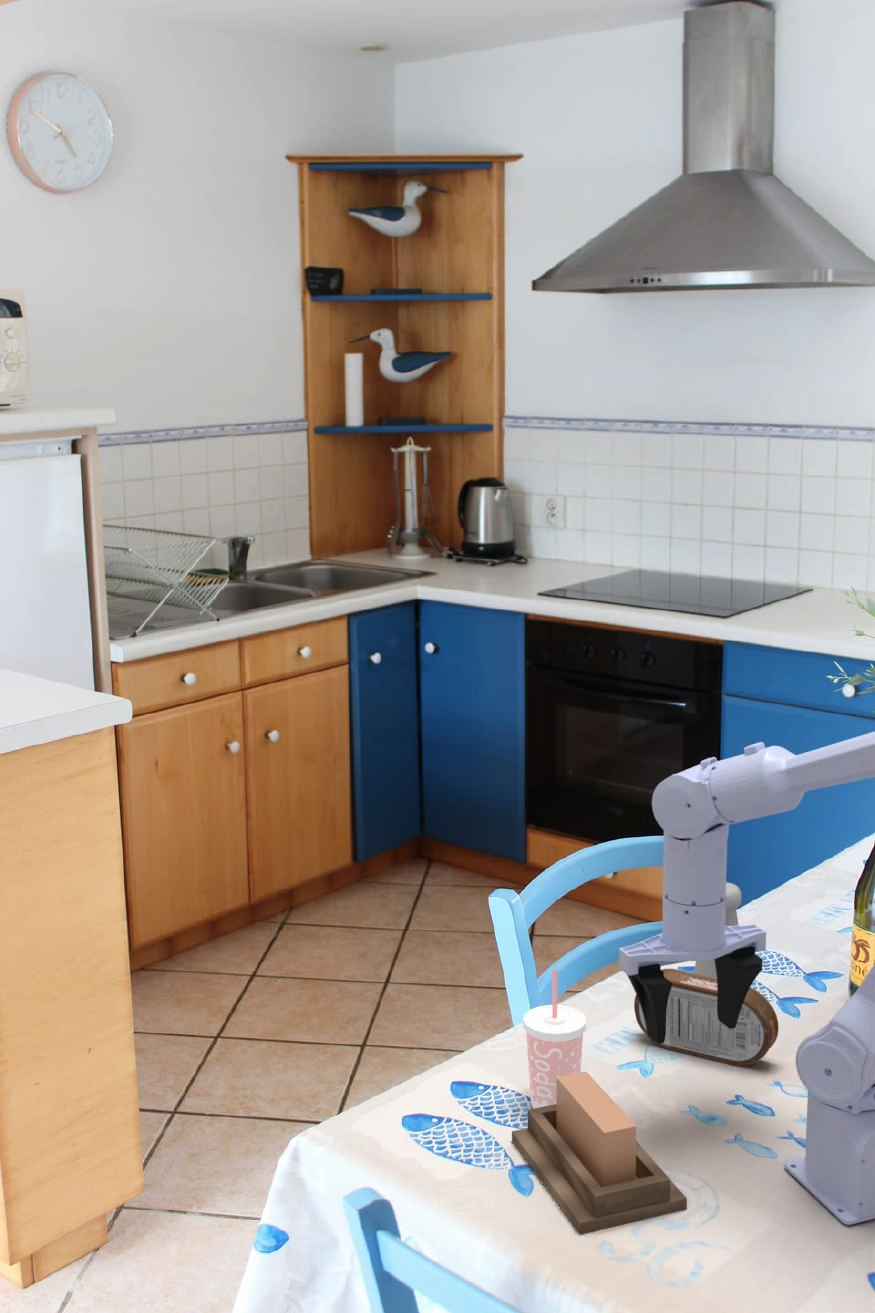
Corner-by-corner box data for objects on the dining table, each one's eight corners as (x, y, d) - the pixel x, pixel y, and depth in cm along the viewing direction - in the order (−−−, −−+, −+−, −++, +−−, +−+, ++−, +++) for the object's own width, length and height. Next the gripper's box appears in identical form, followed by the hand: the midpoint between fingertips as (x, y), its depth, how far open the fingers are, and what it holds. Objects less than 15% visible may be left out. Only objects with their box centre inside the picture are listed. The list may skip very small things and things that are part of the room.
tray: (686, 1209, 116) (687, 1177, 116) (579, 1234, 113) (579, 1201, 113) (609, 1120, 130) (609, 1092, 130) (512, 1141, 127) (511, 1111, 127)
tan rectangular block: (635, 1189, 118) (636, 1126, 116) (603, 1196, 117) (604, 1133, 115) (586, 1130, 127) (586, 1071, 126) (556, 1137, 126) (556, 1077, 125)
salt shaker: (683, 987, 158) (685, 881, 156) (724, 977, 161) (726, 873, 158) (714, 1007, 153) (716, 898, 150) (755, 997, 155) (758, 889, 153)
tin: (778, 1064, 141) (780, 988, 139) (769, 1077, 138) (771, 1000, 136) (640, 1032, 148) (641, 959, 146) (629, 1044, 145) (630, 970, 144)
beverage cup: (510, 1104, 134) (509, 971, 131) (550, 1081, 138) (550, 951, 135) (558, 1127, 129) (558, 990, 126) (598, 1103, 134) (599, 969, 131)
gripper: (738, 869, 132) (735, 1000, 134) (603, 891, 127) (603, 1026, 130) (780, 894, 125) (776, 1031, 128) (640, 918, 120) (638, 1060, 123)
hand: (691, 1031), depth 128 cm, fingers open, 7 cm apart
